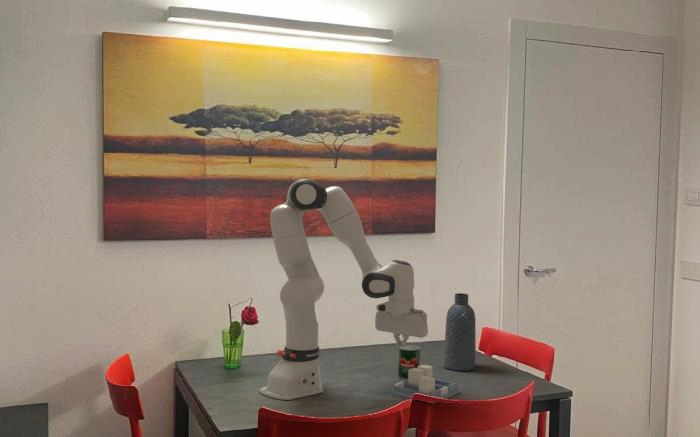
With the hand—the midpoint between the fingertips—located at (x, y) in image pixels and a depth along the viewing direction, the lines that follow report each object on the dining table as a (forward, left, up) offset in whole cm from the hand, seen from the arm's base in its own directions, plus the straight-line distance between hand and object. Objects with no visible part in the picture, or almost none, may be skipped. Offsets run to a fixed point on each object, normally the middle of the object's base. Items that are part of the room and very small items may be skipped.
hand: (401, 346), depth 270 cm
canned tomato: (+12, +5, -14) cm, 20 cm away
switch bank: (0, -11, -14) cm, 18 cm away
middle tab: (0, -7, -13) cm, 15 cm away
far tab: (+5, -7, -13) cm, 15 cm away
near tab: (-6, -15, -13) cm, 20 cm away
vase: (+36, -2, -14) cm, 39 cm away
